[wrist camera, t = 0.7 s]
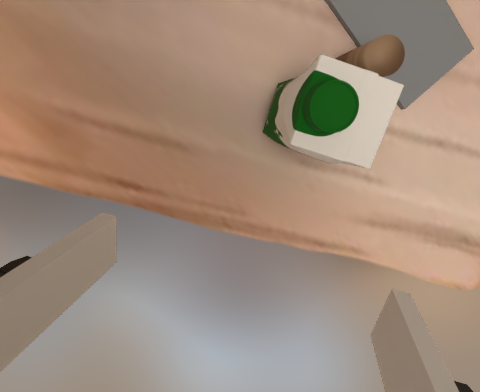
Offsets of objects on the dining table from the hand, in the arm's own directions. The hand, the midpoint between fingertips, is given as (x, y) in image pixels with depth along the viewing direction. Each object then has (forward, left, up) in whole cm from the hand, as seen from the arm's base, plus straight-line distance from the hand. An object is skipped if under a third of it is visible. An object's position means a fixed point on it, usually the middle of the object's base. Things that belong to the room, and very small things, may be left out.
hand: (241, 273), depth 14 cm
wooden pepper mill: (+2, +21, -31) cm, 38 cm away
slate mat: (+2, +31, -31) cm, 44 cm away
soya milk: (+2, +12, -31) cm, 33 cm away
